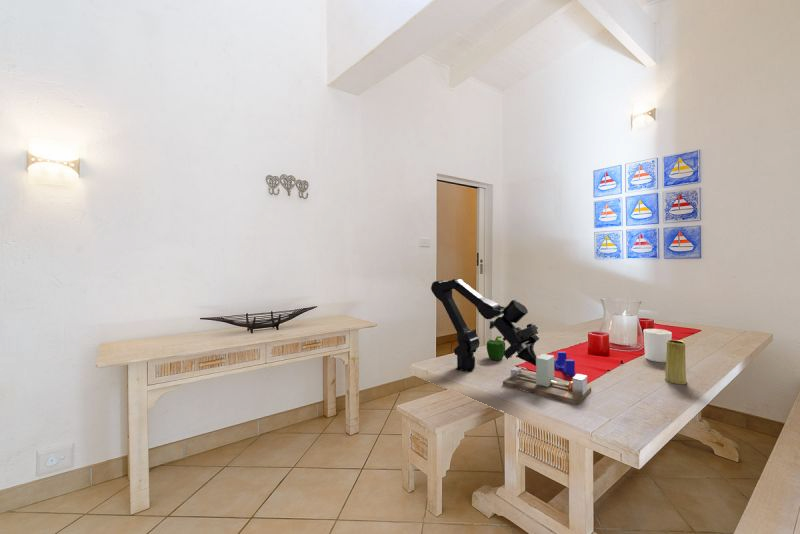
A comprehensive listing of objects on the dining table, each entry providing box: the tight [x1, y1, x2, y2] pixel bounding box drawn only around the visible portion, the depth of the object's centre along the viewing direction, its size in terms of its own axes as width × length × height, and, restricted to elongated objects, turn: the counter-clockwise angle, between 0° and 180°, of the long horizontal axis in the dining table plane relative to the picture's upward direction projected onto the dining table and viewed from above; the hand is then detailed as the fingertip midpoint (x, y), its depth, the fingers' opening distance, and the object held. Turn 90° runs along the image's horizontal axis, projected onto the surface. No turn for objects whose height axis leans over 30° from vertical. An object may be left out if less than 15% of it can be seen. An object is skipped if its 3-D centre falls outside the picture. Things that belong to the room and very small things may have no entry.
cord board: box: [502, 370, 592, 406], centre depth 121 cm, size 25×14×2 cm, turn 47°
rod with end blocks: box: [510, 366, 588, 396], centre depth 121 cm, size 24×5×6 cm, turn 47°
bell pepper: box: [486, 335, 506, 361], centre depth 155 cm, size 8×8×10 cm
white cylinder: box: [642, 328, 673, 363], centre depth 148 cm, size 10×10×12 cm
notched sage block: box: [535, 353, 555, 387], centre depth 121 cm, size 4×6×9 cm, turn 137°
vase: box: [664, 339, 687, 385], centre depth 123 cm, size 6×6×14 cm
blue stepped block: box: [554, 351, 576, 377], centre depth 137 cm, size 12×4×6 cm, turn 170°
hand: (538, 365), depth 122 cm, fingers closed, pressing on notched sage block
